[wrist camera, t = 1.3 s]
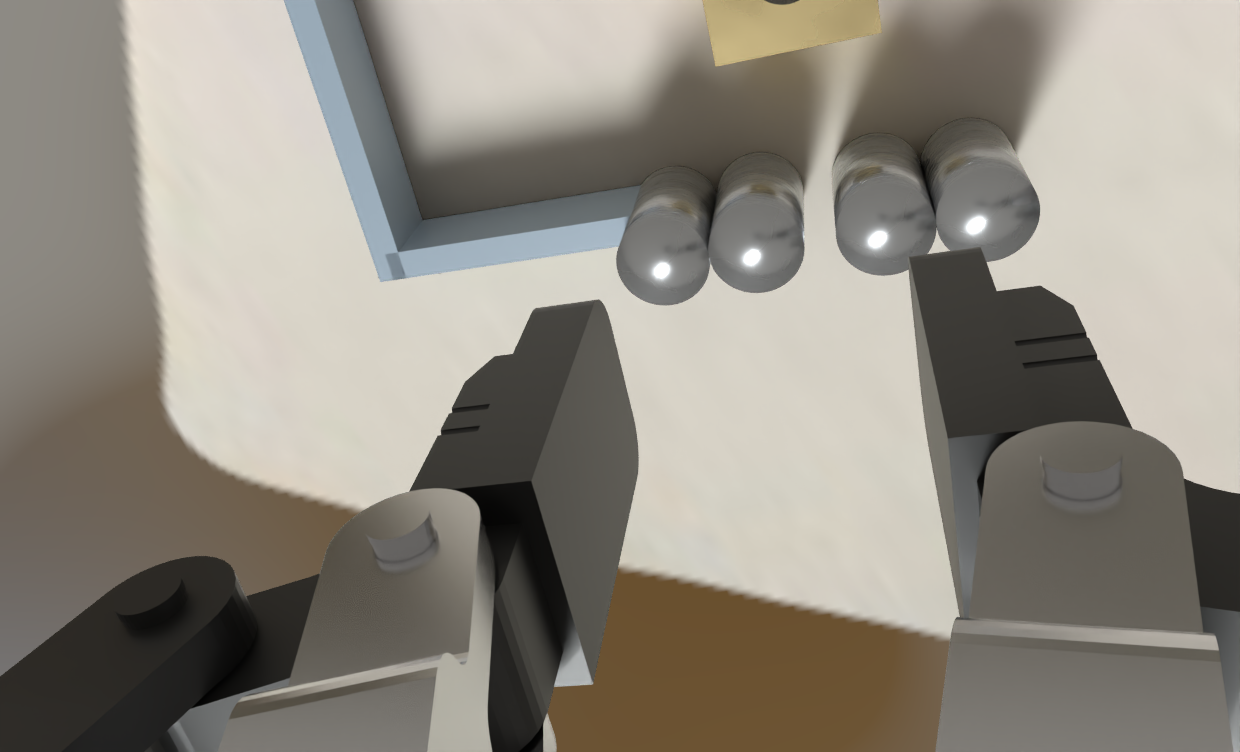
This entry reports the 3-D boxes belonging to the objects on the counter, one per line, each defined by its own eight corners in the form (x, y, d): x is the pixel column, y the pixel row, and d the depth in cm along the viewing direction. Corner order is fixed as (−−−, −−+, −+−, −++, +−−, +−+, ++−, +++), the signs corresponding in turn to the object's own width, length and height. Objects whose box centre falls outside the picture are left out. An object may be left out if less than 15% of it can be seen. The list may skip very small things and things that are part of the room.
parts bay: (541, -294, 33) (520, -297, 31) (649, 210, 41) (639, 243, 38) (253, -219, 35) (210, -215, 33) (405, 248, 43) (380, 281, 40)
